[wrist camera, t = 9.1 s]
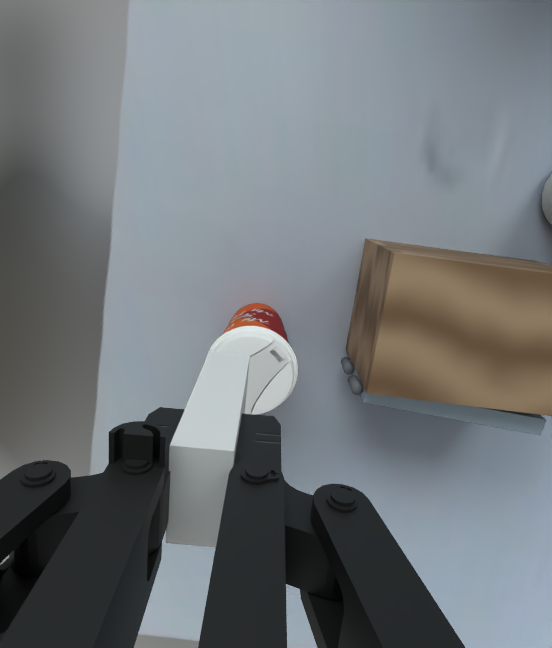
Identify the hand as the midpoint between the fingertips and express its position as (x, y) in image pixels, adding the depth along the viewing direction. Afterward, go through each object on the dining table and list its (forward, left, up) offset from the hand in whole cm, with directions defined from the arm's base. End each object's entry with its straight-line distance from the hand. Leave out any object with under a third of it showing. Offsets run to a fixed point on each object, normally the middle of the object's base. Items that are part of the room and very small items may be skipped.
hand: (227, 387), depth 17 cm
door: (+10, +19, -32) cm, 38 cm away
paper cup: (+7, +1, -33) cm, 34 cm away
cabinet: (+2, +20, -33) cm, 38 cm away
